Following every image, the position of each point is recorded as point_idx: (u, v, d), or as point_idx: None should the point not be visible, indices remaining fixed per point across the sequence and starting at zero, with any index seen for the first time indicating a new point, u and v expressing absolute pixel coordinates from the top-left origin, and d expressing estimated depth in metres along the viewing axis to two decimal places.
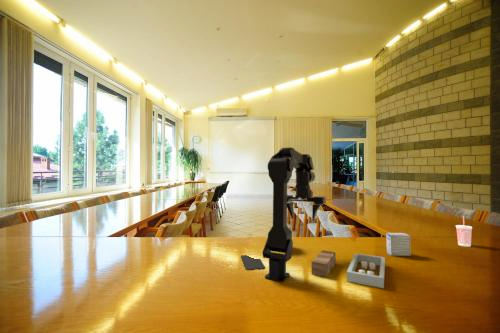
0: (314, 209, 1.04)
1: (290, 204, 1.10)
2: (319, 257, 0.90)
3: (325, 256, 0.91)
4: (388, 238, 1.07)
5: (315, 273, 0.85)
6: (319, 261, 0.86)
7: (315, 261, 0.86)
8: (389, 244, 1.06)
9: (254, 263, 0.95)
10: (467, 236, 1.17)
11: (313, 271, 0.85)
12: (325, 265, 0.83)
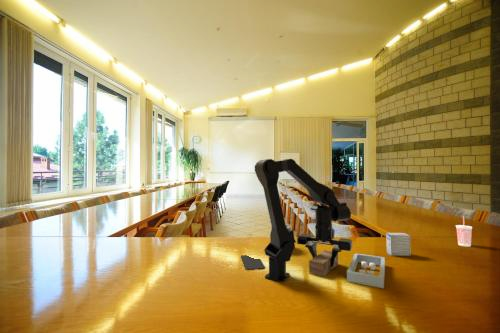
0: (334, 255, 0.87)
1: (314, 247, 0.92)
2: (318, 256, 0.91)
3: (325, 256, 0.91)
4: (388, 238, 1.07)
5: (312, 272, 0.86)
6: (317, 260, 0.87)
7: (313, 260, 0.87)
8: (389, 244, 1.06)
9: (254, 263, 0.95)
10: (467, 236, 1.17)
11: (310, 270, 0.86)
12: (322, 264, 0.84)
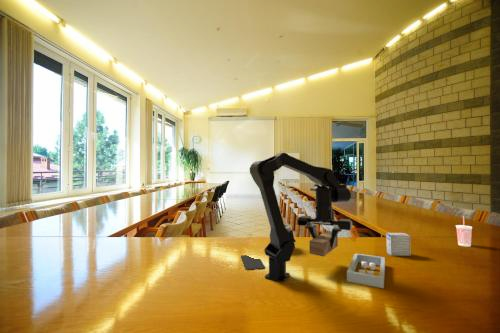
0: (333, 235, 0.87)
1: (314, 228, 0.92)
2: (319, 237, 0.91)
3: (325, 237, 0.91)
4: (388, 238, 1.07)
5: (313, 252, 0.86)
6: (317, 240, 0.87)
7: (313, 240, 0.87)
8: (389, 244, 1.06)
9: (254, 263, 0.95)
10: (467, 236, 1.17)
11: (311, 250, 0.86)
12: (322, 244, 0.84)
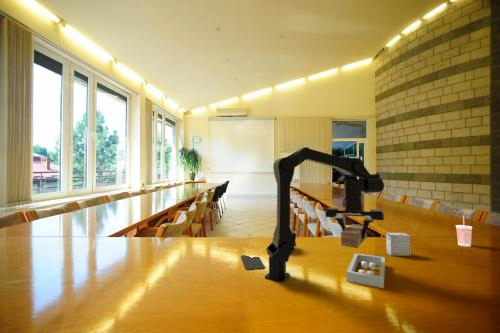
0: (365, 226, 0.85)
1: (343, 220, 0.89)
2: (349, 229, 0.88)
3: (355, 228, 0.89)
4: (388, 238, 1.07)
5: (345, 243, 0.83)
6: (349, 231, 0.84)
7: (345, 231, 0.84)
8: (389, 244, 1.06)
9: (254, 263, 0.95)
10: (467, 236, 1.17)
11: (343, 241, 0.84)
12: (355, 235, 0.81)
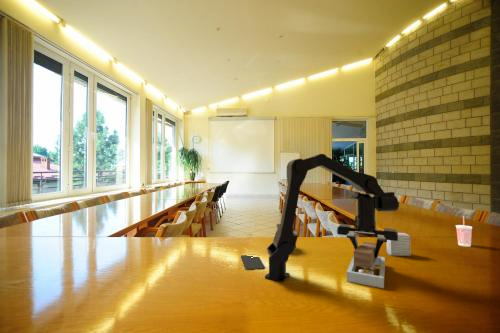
0: (378, 245, 0.83)
1: (356, 238, 0.88)
2: (361, 247, 0.87)
3: (368, 247, 0.87)
4: None
5: (358, 263, 0.82)
6: (362, 251, 0.82)
7: (357, 251, 0.83)
8: (389, 244, 1.06)
9: (254, 263, 0.95)
10: (467, 236, 1.17)
11: (355, 261, 0.82)
12: (369, 255, 0.80)
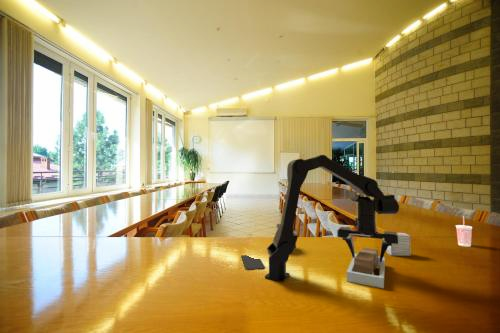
0: (384, 249, 0.82)
1: (352, 240, 0.88)
2: (361, 254, 0.86)
3: (368, 253, 0.87)
4: None
5: (358, 270, 0.81)
6: (362, 258, 0.82)
7: (358, 258, 0.82)
8: None
9: (254, 263, 0.95)
10: (467, 236, 1.17)
11: (356, 268, 0.82)
12: (369, 262, 0.80)
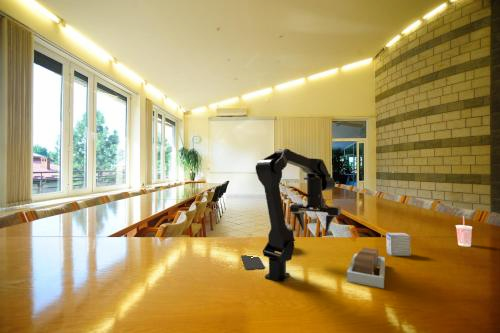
0: (328, 221, 0.93)
1: (301, 214, 1.00)
2: (361, 254, 0.86)
3: (368, 253, 0.87)
4: (388, 238, 1.07)
5: (358, 270, 0.81)
6: (362, 258, 0.82)
7: (358, 258, 0.82)
8: (389, 244, 1.06)
9: (254, 263, 0.95)
10: (467, 236, 1.17)
11: (356, 268, 0.82)
12: (369, 262, 0.80)
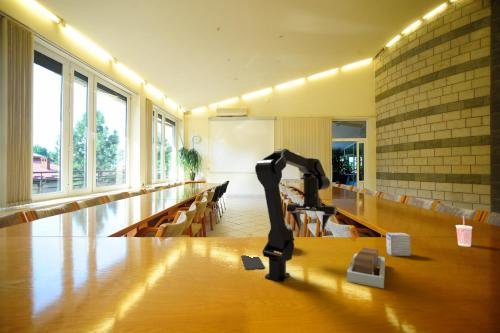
0: (324, 220, 0.94)
1: (297, 214, 1.00)
2: (361, 254, 0.86)
3: (368, 253, 0.87)
4: (388, 238, 1.07)
5: (358, 270, 0.81)
6: (362, 258, 0.82)
7: (358, 258, 0.82)
8: (389, 244, 1.06)
9: (254, 263, 0.95)
10: (467, 236, 1.17)
11: (356, 268, 0.82)
12: (369, 262, 0.80)
